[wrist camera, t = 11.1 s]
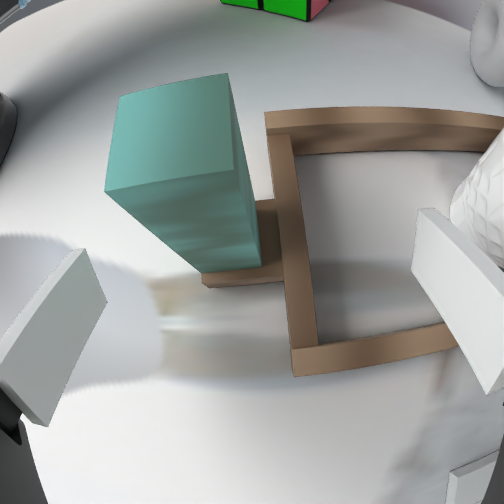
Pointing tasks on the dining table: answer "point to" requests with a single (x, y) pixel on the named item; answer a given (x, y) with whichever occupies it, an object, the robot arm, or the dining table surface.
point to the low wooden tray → (264, 211)
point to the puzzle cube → (285, 7)
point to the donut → (489, 43)
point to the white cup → (483, 203)
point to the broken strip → (471, 481)
